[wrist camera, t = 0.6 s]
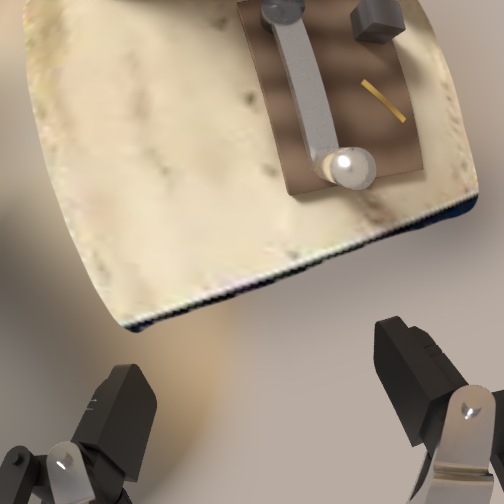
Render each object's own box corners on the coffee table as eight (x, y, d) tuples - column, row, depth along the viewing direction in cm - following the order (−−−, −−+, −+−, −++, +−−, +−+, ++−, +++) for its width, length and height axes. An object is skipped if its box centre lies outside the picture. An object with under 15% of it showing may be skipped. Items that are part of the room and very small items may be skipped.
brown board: (237, 9, 26) (235, -23, 18) (367, 0, 25) (391, -25, 17) (287, 193, 34) (299, 204, 26) (415, 168, 33) (450, 174, 25)
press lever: (255, 9, 24) (259, -47, 13) (292, 4, 24) (310, -49, 13) (303, 180, 31) (333, 195, 20) (340, 172, 31) (386, 184, 20)
